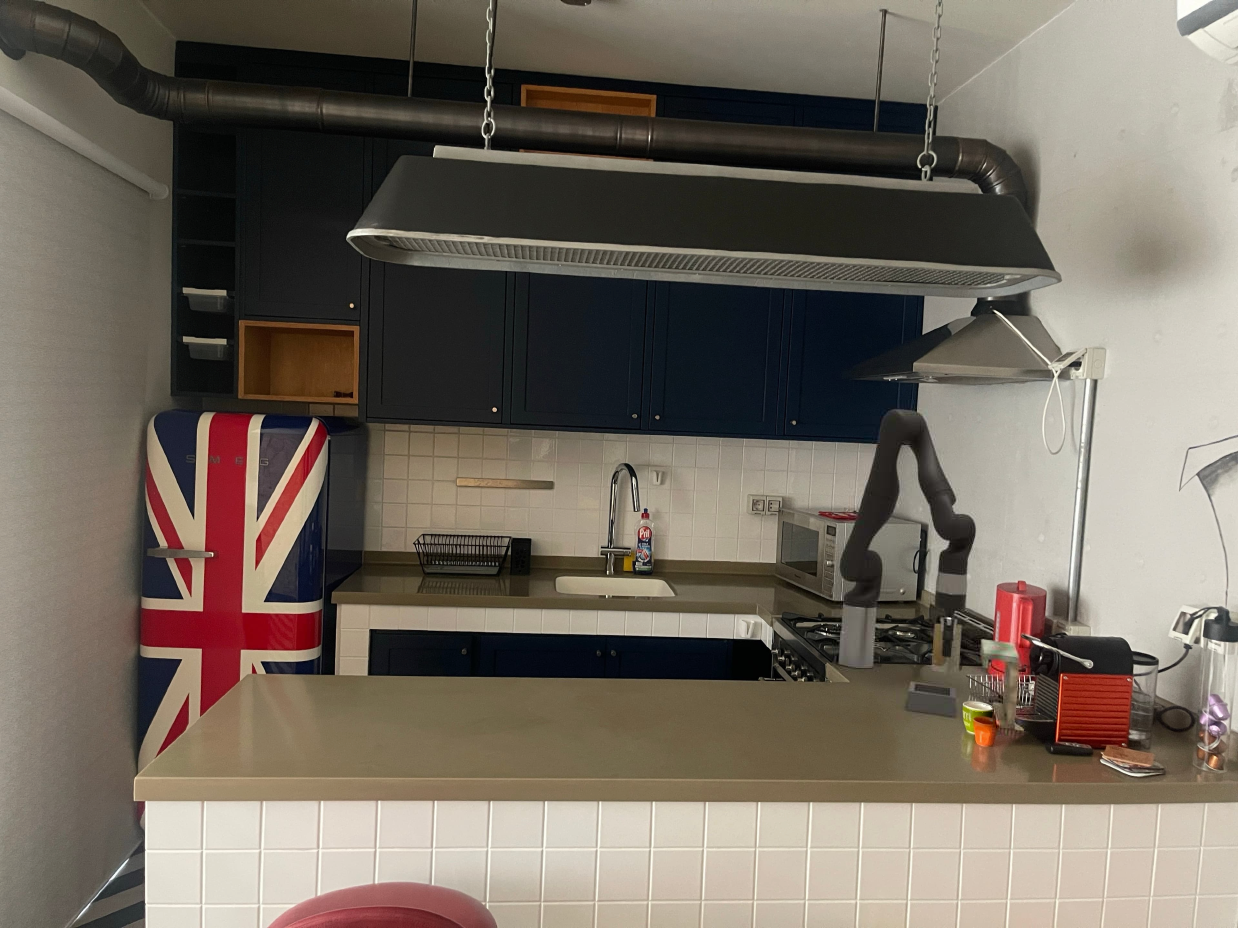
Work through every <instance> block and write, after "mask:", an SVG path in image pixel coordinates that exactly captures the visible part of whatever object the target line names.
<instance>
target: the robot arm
mask: <svg viewBox="0 0 1238 928" xmlns="http://www.w3.org/2000/svg"><path fill="white" fill-rule="evenodd" d="M903 444H907V445H908V447H909V448H910V450H911V451H912V453H913V455H914V457H915V459H916V463H917V480H918V484H919V488H920V490H921V492H922V493H923V497H924V499H925V500H926V502H927V504H928V506H929V509H930V515H931V521H932V523H933V527H934V528H933V529H934V530H935V532H936V534H937V535H938V536H939V537H940V538H941V539H942V540H945V541H947V542H948V545H947V547H946V548H945V549H943V550H942V551H941V552H940V553H939V556H938V567H937V568H938V569H937V575H936V579H935V580H936V581H935V591H934V593H935V594H934V604H933V605H934V607H935V608H937V609H940V610H943V614H942V613H941V614H940V623H941V633H942V634H943V637H942V641H943V645H942V656H944V657H951V649H952V642H953V639H954V638H953V635H955V629H956V624H958V616H957V615H955V613H956V612H963V611H965V610H966V606H967V605H966V604H967V603H966V602H967V592H968V590H967V589H968V564H969V563H968V562H969V560H968V559H969V556H970V554H971V552H972V549H973V546H974V542H975V538H976V533H977V528H976V522H975V521H974V519H973V518H972V516H970V515H968V514H967V513H966V514H965V513H955V510H954V508H953V506H954V505H955V504H956V502H957V498H956V497H957V496H956V495H955V492H954V490H953V488H952V486H951V484H950V483H949V481H948V478H947V477H946V474H945V473H944V471H943V468H942V467H941V463H940V462H939V458H938V455H937V451H936V448H935V446H934V442H933V440H932V437H931V434H930V430H929V426H928V424H927V421H926V420H925V418H924V416H923V414H922V413H920V412H918V411H915V410H909V409H899V408H898V409H891V410H889V411H888V412H887V413H885V414H884V416H883V418H882V420H881V423H880V427H879V431H878V437H877V441H876V448H875V453H874V456H873V460H872V464H871V468H870V473H869V475H868V479H867V482H866V485H865V488H864V491H863V494H862V497H861V501H860V505H859V508H858V512H857V514H856V518H855V520H854V524H853V527H852V530H851V533H850V535H849V537H848V540H847V542H846V543H845V544H846V545H845V547H844V549H843V552H842V554H841V557H840V561H839V572H840V574H841V575H840V576H841V578H842V579H844V581H847V582H849V583H851V582H852V583H855V585H854V587H853V588H852V589H851V590H849V591H848V592H846V593H845V594H844V595H843V600H842V601H843V602H842V603H843V604H842V618H841V631H840V637H839V654H838V665H841V666H846V667H849V668H856V669H871V668H873V666H874V652H875V651H874V650H875V634H876V620H877V618H876V617H877V604H878V600H879V598H880V595H881V589H882V581H883V571H884V569H883V561H882V558H881V555H880V554H879V553H878V552H877V551H875V550H872V549H869V548H870V545H871V544H872V541H873V539H874V538H875V536H876V535H877V534H878V533H879V532H880V530H881V529H882V528H883V527H884V526H885V524H886V523H888V521H889V520H890V518H891V517H892V515H893V514H894V511H895V508H896V505H897V502H898V499H899V494H900V479H899V475H898V467H897V466H898V458H899V454H900V452H901V448H902V446H903ZM943 626H944V627H943ZM948 626H949V627H948ZM945 633H950V635H951V636H945Z"/></svg>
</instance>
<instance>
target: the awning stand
mask: <svg viewBox="0 0 1238 928" xmlns="http://www.w3.org/2000/svg"><path fill="white" fill-rule="evenodd" d="M979 654H980V657H981V665H982V669H988V670H989V660H993V661H994V660H995V661H1002V662H1004V663H1005V664H1004V665H1005V666H1004V678H1003V679H1004V680H1003V696H1002V703H1000V702H995V701H994V702H992V708H993V707H994V708H995V710H996V711H997V718H998V719H999V720H1000V723H1001V727H1000V728H1001V729H1002V728H1003V729H1008V730H1009V729H1010V730H1015V731H1021V732H1022V731H1024V729H1023V728H1022V727H1020V726H1019V725H1017V724H1016V723H1015V717H1016V708H1021V707H1020V705H1017V698H1018V697H1017V696H1018V682H1019V665H1020V657H1019V653H1018V651H1017V649H1016V646H1015V644H1014V642H1008V641H1007V642H1006V641H1000V640H991V639H990V640H989V639H984V638H983V639H980V653H979ZM1005 713H1006V716H1005ZM1024 732H1025V731H1024Z"/></svg>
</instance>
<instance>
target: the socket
mask: <svg viewBox="0 0 1238 928" xmlns="http://www.w3.org/2000/svg"><path fill="white" fill-rule="evenodd" d="M956 691H957V690H956V687H953V686H944V685H939V684H937V685H936V684H930V683H924V682H922V683H921V682H918V681H917V682H916V681H909V688H908V695H907V711H911V712H917V713H924V714H925V713H926V714H930V715H937V716H945V717H950V718H955V716H956V715H955V714H956V702H957V701H956V699H957V698H956V697H957V696H956V694H957V693H956Z"/></svg>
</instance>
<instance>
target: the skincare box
mask: <svg viewBox="0 0 1238 928" xmlns="http://www.w3.org/2000/svg"><path fill="white" fill-rule="evenodd" d="M943 627H944V626H943ZM948 627H949V626H948ZM962 627H963V626H962V624H958V623H957V624H956V629H955V635H953V638H954V639H953V642H952V649H951V657H944V656H942V645H943V641H942V637H943V634H942V633H941V622H940V623H935V624H934V628H933V642H932V643H933V644H932V657H931V658H932V659H931V670H932V671H934V672H937V673H941V674H945V675H947V674H951V673H955V672H959V671H960V669H959V668H960V655H961V654H960V653H961V638H962ZM945 636H951V635H950V633H945Z"/></svg>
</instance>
